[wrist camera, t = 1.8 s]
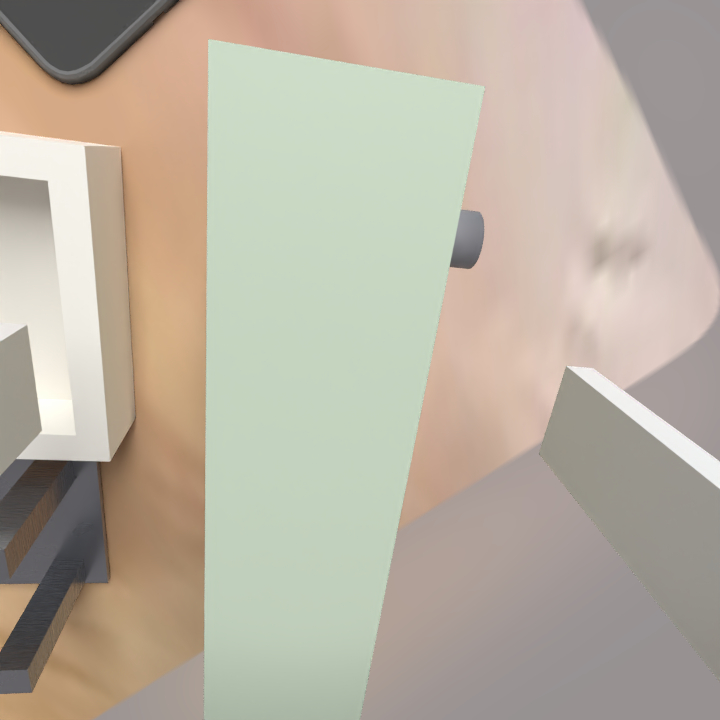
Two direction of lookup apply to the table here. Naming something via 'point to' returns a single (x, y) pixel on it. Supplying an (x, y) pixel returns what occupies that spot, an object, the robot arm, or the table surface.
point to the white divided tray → (69, 289)
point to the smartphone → (78, 32)
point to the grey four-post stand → (48, 555)
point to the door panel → (318, 358)
